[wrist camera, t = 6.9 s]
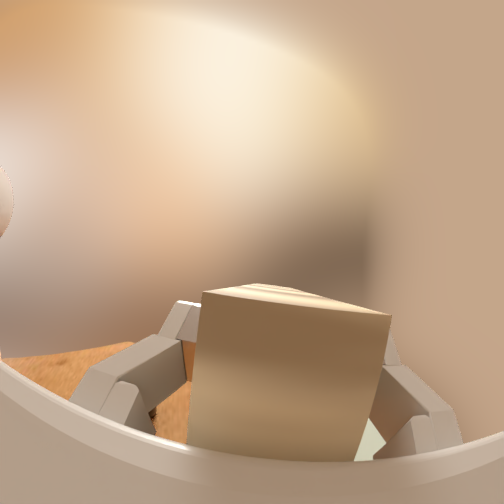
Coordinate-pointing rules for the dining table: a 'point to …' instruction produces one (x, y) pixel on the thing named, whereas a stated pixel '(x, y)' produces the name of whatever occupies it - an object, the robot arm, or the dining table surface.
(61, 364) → the dining table surface
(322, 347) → the tan block
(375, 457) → the robot arm
